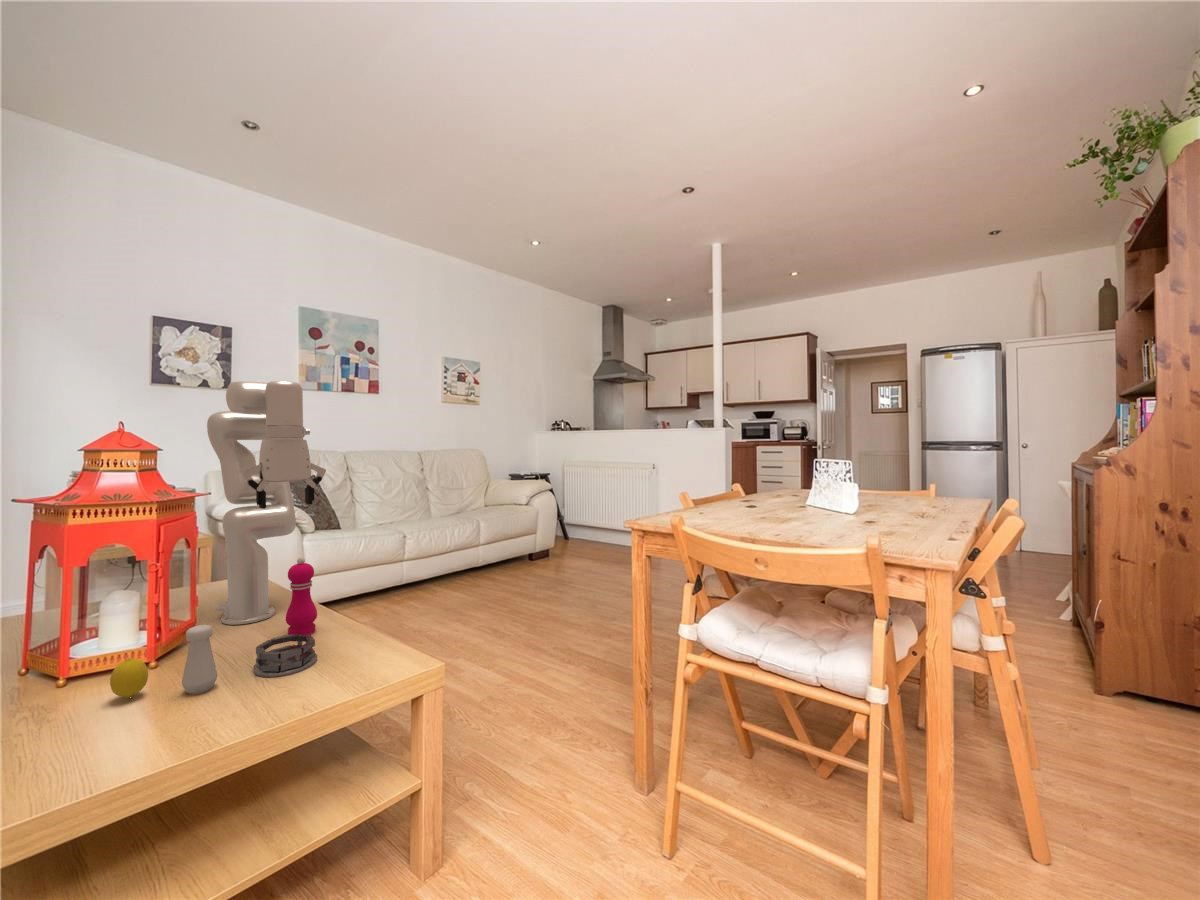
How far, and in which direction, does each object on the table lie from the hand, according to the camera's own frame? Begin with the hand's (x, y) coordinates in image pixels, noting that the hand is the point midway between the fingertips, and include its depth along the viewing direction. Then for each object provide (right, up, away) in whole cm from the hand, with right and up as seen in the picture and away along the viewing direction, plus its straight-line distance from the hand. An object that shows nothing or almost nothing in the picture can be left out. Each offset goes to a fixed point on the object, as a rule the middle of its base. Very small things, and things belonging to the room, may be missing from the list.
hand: (286, 506), depth 121 cm
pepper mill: (-4, -35, +13) cm, 38 cm away
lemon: (-19, -36, -20) cm, 45 cm away
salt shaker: (-7, -36, -17) cm, 40 cm away
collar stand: (+3, -36, -5) cm, 36 cm away
